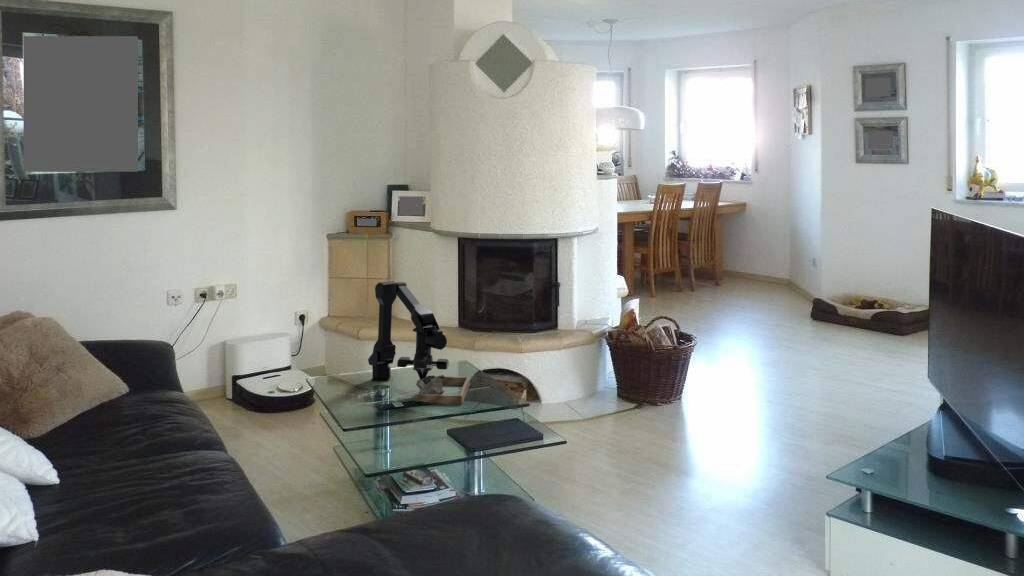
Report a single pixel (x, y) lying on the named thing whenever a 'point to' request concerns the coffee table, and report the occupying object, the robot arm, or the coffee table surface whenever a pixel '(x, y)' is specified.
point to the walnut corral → (446, 398)
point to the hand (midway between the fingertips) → (422, 385)
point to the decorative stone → (431, 385)
